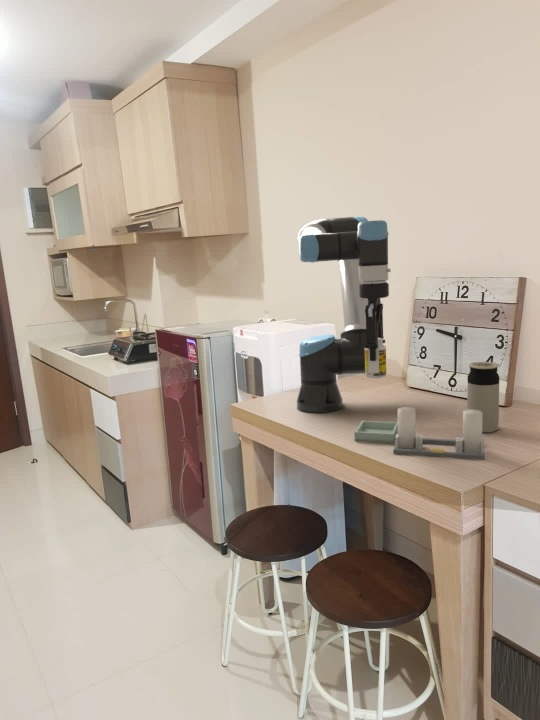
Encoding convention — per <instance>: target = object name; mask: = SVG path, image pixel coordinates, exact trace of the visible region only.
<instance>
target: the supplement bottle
mask: <svg viewBox="0 0 540 720" xmlns="http://www.w3.org/2000/svg"><path fill="white" fill-rule="evenodd" d="M383 340H384V338H378V348H379V373H368V348H365V374H364V375H365V377H366V378H369V379H381V378H384V377H386V375H387V347H386V345H384V343H383ZM382 344H383V345H382Z"/></svg>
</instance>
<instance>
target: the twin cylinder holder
mask: <svg viewBox="0 0 540 720" xmlns="http://www.w3.org/2000/svg"><path fill="white" fill-rule="evenodd" d="M396 410H397V413H396V414H397V422H398V434H396V437H395V441H394V446H395V447H394V448H393V450H392V451H393V455H406V456H421V457H433V458H434V457H435V458H436V457H437V458H449V459H450V458H452V459H464V460H481V461H485V438H483V433H482V412H481V411H479V410H467V409H465V410H463V411H462V437H461V436H460V437H459V436H456V437H455V439H448V438H447V439H446V438H431V437H430V438H429V437H424V435H422V434H416V433H417V430H416V428H417V427H416V419H417V418H416V417H417V416H416V408H414V407H410V406H409V407H408V406H403V407H399V408H397V409H396ZM424 444H430V445H431V444H432V445H434V444H435V445H446V446H447V445H450V446H455V451H446V450H445V448H432V447H431V449H430V450H428V449H427V450H424V449H423V447H424Z"/></svg>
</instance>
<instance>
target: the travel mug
mask: <svg viewBox="0 0 540 720" xmlns="http://www.w3.org/2000/svg"><path fill="white" fill-rule="evenodd" d="M468 367H469V370H470V371H469V373H468V375H467V397H466V398H467V401H466V402H467V403H466V405H467V408H466V410H479V411H481V412H482V434H486V433H494V432H496V431H497V430H499V422H500V421H499V415H500V414H499V411H500V410H499V409H500V375H499V373H498V368H499V364H498V363H496V362H491V361H474V362H471V363H468Z"/></svg>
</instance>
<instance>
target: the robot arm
mask: <svg viewBox="0 0 540 720" xmlns="http://www.w3.org/2000/svg"><path fill="white" fill-rule="evenodd" d="M388 231H389V230H388V223H387V222H386V220H382V219H381V220H380V219H379V220H368V219H367V218H366V217H365V216H355V215H354V216H348V217H335V218H333V217H331V218H320V219H316V220H313V221H311V222H309V223H307V224H305V225H304V226H303V227H301V229H300V230H299V231H298V235H297V241H298V247H299V259H300V261H301V262H302V263H318V262H320V263H321V262H330V261H333V262H334V261H337V262H338V263H339V275H340V287H341V298H342V299H341V301H342V311H343V322H344V323H343V324H344V325H343V326H344V329H343V330H342V332H341V333H340V338H336V335H334V334H320V335H315V336H309V337H307V338H306V339H303V340H301V342H300V343H299V354H298V355H299V363H300V364H299V365H300V367H299V368H300V387H299V391H298V393H297V399H296V408H297V409H298V410H299V411H302V412H306V413H307V412H308V413H329V412H330V413H331V412H334V411H338V410H340V409H341V408H343V404H344V403H343V400H344V399H343V396H342V393H341V391H340V389H339V386H338V382H337V375H339V376H340V375H354V374H355V375H358V374H364V375H365V348H368V373H379V348H378V338H383V344H382V345H384V344H386V339H384V318H383V317H384V316H383V315H384V313H383V312H384V311H383V310H384V304H383V303H382V302H381V299H384V298H388V297H389V295H390V291H389V290H390V284H389V283H388V282H387V281H389V273H391V268H389V232H388Z"/></svg>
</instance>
